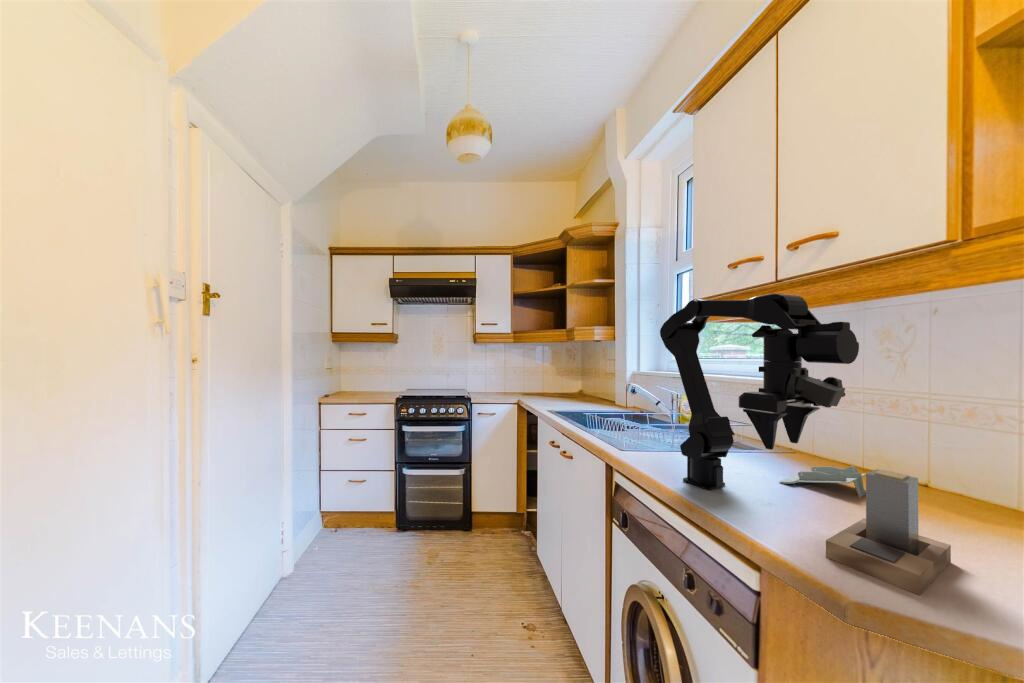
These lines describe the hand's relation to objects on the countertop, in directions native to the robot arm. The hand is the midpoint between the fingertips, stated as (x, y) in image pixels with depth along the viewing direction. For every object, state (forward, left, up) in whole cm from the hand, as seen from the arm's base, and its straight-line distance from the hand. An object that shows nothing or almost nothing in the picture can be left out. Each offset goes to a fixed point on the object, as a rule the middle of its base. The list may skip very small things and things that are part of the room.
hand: (782, 445), depth 67 cm
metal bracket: (-3, +27, -14) cm, 30 cm away
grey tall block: (+14, 0, -13) cm, 19 cm away
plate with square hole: (+15, -2, -13) cm, 20 cm away
